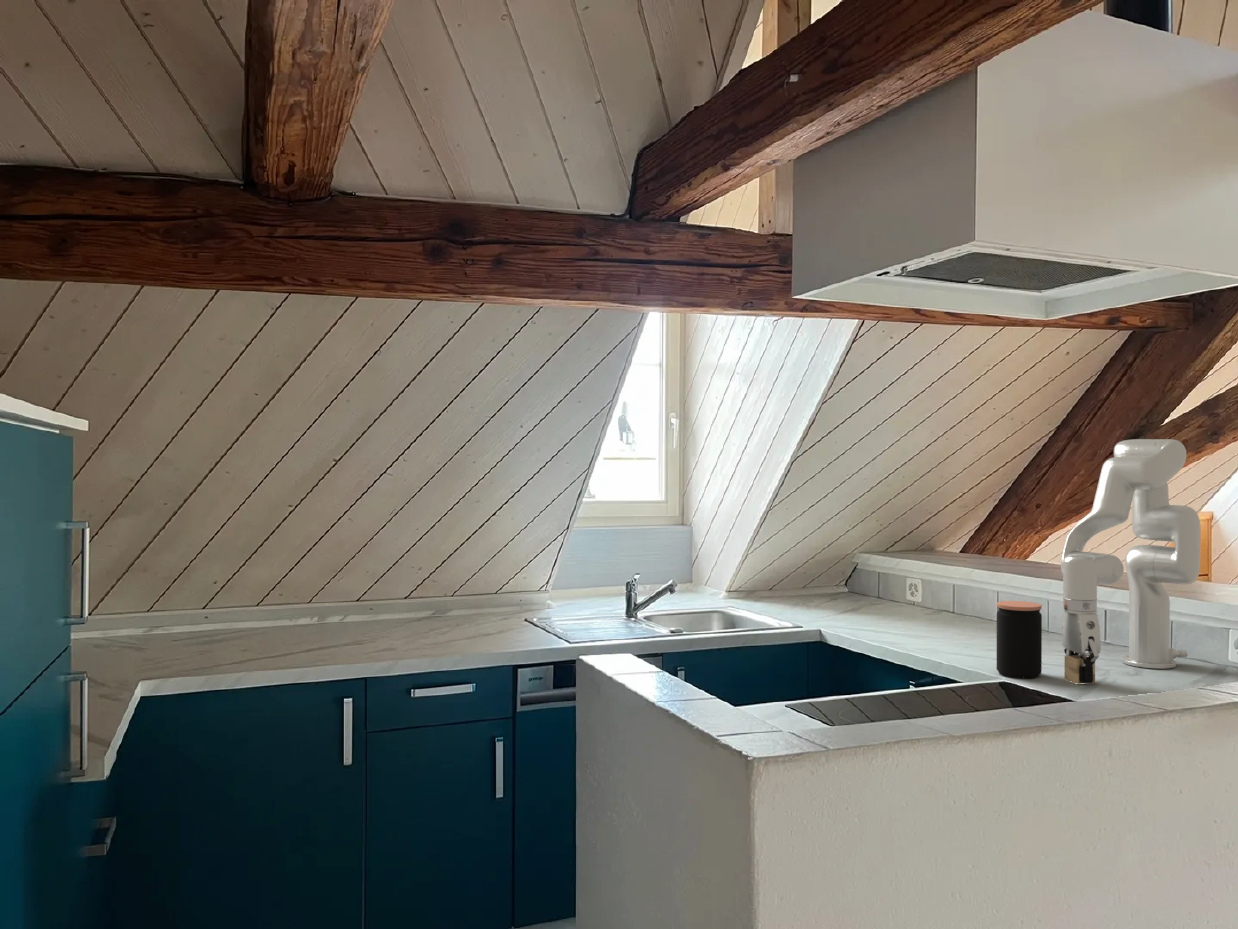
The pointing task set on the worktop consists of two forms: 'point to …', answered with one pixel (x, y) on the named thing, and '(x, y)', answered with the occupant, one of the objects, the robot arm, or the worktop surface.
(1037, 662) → the coffee jar
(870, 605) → the worktop surface
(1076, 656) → the oak block
